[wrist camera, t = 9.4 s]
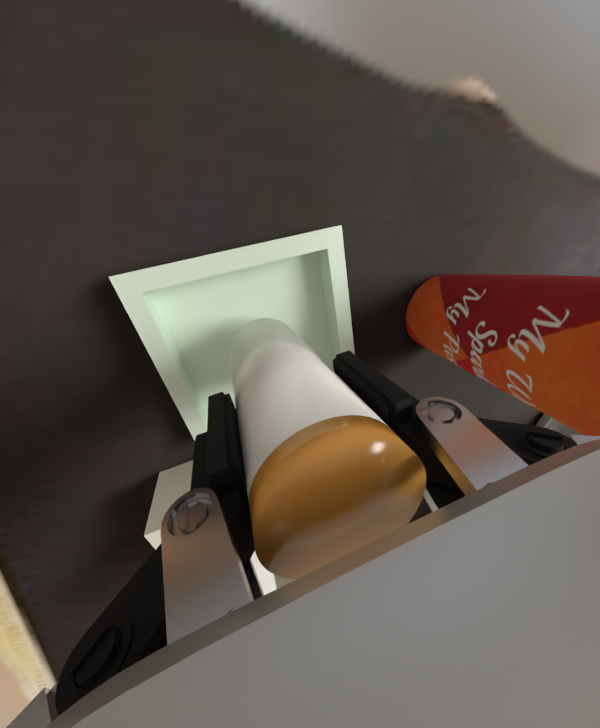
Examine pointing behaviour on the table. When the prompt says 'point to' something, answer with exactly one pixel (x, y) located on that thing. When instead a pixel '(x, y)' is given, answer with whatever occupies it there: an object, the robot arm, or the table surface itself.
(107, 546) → the table surface
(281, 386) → the white and orange cylinder
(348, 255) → the table surface
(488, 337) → the coffee cup
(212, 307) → the tray
